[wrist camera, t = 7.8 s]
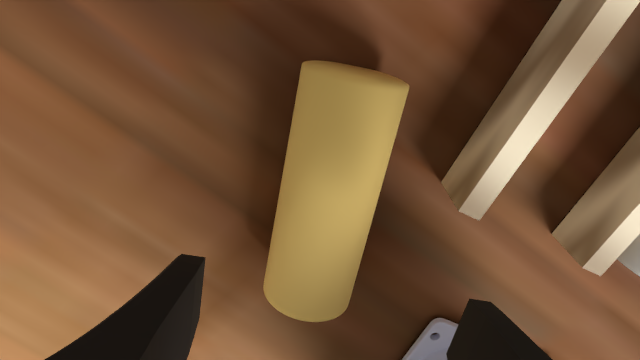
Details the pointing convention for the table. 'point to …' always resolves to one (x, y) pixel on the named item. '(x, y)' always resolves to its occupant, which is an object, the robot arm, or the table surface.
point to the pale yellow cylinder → (330, 186)
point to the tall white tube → (632, 256)
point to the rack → (534, 118)
